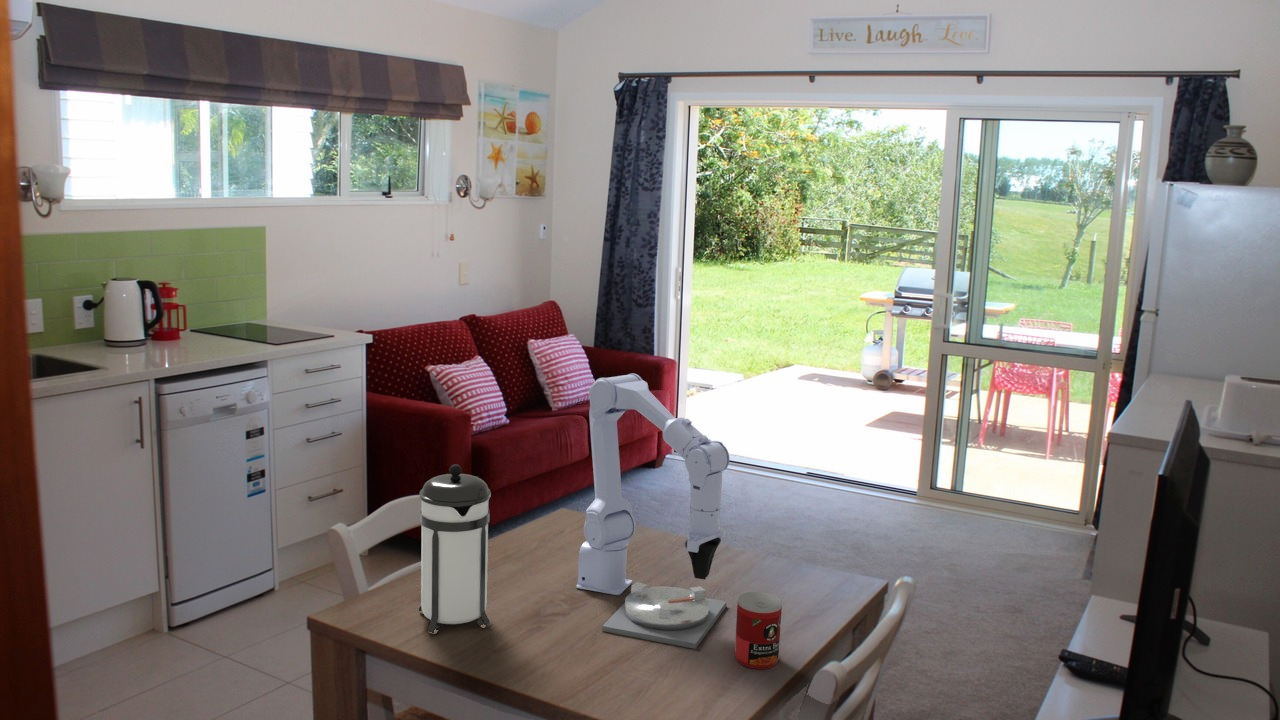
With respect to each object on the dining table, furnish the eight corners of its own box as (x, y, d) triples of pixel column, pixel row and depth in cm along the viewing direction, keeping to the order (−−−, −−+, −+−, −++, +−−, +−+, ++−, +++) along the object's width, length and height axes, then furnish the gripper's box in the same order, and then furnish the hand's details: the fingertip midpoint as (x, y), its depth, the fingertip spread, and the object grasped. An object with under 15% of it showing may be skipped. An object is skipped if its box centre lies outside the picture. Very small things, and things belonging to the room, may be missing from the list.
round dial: (612, 620, 192) (613, 601, 191) (641, 590, 207) (642, 572, 206) (694, 636, 186) (695, 616, 186) (718, 604, 201) (719, 585, 201)
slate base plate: (602, 631, 190) (602, 624, 190) (640, 591, 209) (640, 585, 209) (695, 648, 184) (695, 642, 184) (726, 606, 203) (726, 600, 203)
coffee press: (513, 613, 196) (516, 460, 191) (461, 644, 182) (462, 480, 177) (441, 594, 204) (442, 446, 199) (385, 622, 190) (385, 464, 185)
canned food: (750, 673, 176) (754, 612, 174) (725, 654, 182) (728, 595, 181) (787, 665, 179) (791, 605, 177) (761, 646, 186) (765, 588, 184)
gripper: (715, 521, 183) (711, 594, 185) (735, 499, 196) (732, 567, 198) (677, 515, 185) (673, 587, 187) (700, 494, 199) (696, 561, 201)
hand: (701, 576), depth 193 cm, fingers closed
